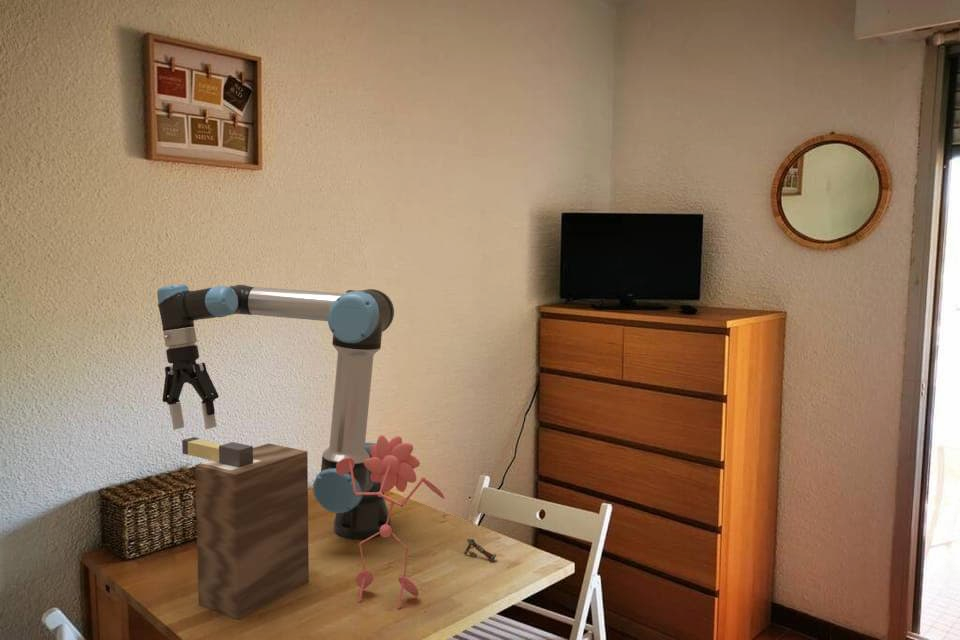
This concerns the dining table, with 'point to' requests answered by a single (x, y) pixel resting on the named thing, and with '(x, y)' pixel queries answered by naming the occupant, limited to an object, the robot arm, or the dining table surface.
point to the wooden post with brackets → (479, 548)
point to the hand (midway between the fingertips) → (194, 428)
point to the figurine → (391, 470)
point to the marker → (219, 451)
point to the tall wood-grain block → (252, 530)
